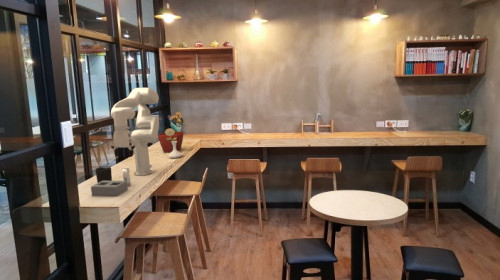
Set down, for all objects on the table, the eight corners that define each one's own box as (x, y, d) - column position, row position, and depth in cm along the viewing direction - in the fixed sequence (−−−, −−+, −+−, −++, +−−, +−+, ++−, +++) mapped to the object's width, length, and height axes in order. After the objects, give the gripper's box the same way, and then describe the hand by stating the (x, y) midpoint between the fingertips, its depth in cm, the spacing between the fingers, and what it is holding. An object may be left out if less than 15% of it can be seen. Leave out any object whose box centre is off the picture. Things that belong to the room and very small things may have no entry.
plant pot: (165, 149, 325) (163, 131, 322) (184, 148, 324) (183, 131, 321) (159, 153, 306) (157, 135, 303) (180, 153, 305) (178, 134, 302)
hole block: (103, 189, 210) (102, 180, 209) (127, 189, 207) (126, 180, 206) (91, 195, 198) (90, 186, 197) (117, 196, 196) (116, 187, 195)
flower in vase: (183, 155, 294) (181, 127, 289) (179, 158, 283) (177, 129, 278) (169, 155, 295) (166, 127, 291) (164, 159, 284) (162, 129, 280)
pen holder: (108, 180, 228) (106, 166, 226) (115, 182, 222) (113, 168, 220) (94, 184, 221) (92, 169, 219) (101, 186, 215) (99, 171, 213)
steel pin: (126, 184, 217) (124, 168, 215) (132, 184, 216) (130, 168, 214) (122, 186, 213) (121, 169, 211) (128, 186, 212) (127, 169, 210)
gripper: (137, 127, 210) (140, 154, 213) (111, 128, 213) (114, 154, 216) (131, 129, 203) (134, 157, 206) (104, 130, 206) (107, 157, 209)
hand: (124, 156), depth 211 cm, fingers open, 9 cm apart
